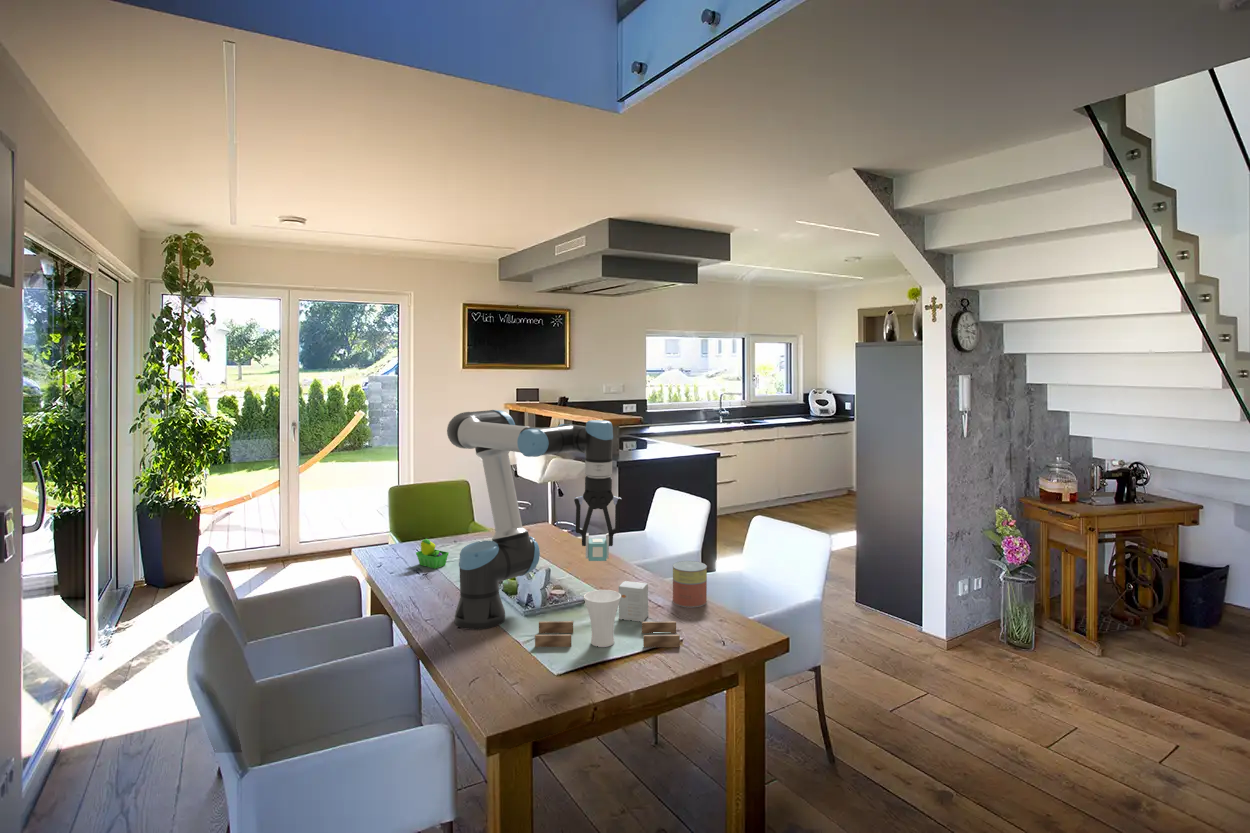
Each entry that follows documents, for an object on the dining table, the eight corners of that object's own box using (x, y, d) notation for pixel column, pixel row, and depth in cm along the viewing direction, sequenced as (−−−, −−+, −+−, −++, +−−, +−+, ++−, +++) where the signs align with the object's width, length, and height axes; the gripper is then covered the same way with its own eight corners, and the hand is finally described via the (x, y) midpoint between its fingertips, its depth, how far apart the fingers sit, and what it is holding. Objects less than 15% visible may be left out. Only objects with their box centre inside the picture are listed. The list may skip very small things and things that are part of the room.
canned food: (713, 601, 224) (713, 565, 223) (692, 610, 216) (693, 573, 215) (686, 593, 232) (686, 558, 231) (665, 601, 223) (665, 566, 223)
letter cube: (588, 561, 189) (588, 543, 188) (588, 555, 194) (588, 537, 193) (606, 561, 189) (606, 543, 189) (605, 555, 194) (606, 537, 194)
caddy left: (535, 647, 187) (534, 635, 187) (539, 632, 198) (539, 621, 198) (571, 646, 188) (571, 635, 187) (573, 631, 198) (573, 621, 198)
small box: (648, 616, 211) (648, 583, 210) (643, 622, 205) (643, 588, 205) (624, 613, 213) (624, 580, 212) (618, 619, 208) (618, 585, 207)
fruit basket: (450, 565, 265) (449, 536, 264) (432, 571, 258) (432, 541, 257) (430, 560, 271) (429, 533, 270) (412, 566, 264) (411, 537, 263)
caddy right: (643, 647, 187) (643, 636, 187) (641, 632, 198) (641, 621, 197) (679, 647, 187) (679, 635, 187) (676, 632, 198) (676, 621, 198)
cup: (607, 653, 183) (607, 604, 182) (576, 645, 189) (576, 597, 188) (628, 640, 192) (628, 593, 191) (597, 632, 198) (597, 587, 197)
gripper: (565, 478, 185) (564, 561, 187) (631, 478, 186) (629, 561, 188) (566, 473, 193) (565, 552, 195) (629, 473, 194) (628, 553, 196)
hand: (597, 556), depth 192 cm, fingers closed on letter cube, 5 cm apart
